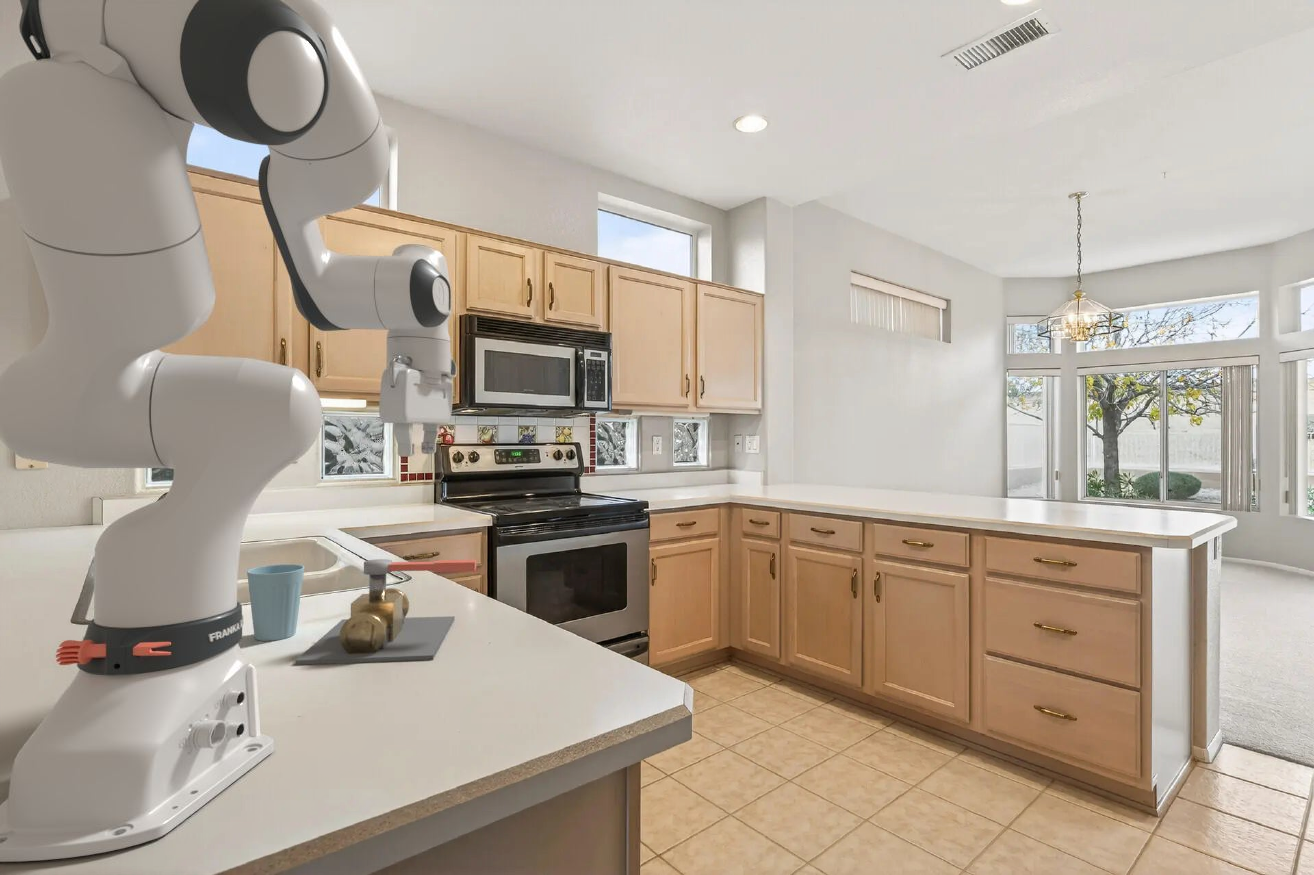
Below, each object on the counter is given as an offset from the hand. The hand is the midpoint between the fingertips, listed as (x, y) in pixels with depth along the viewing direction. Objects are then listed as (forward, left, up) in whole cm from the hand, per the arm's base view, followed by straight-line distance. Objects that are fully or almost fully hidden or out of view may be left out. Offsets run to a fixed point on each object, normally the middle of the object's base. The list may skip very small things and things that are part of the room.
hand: (417, 455), depth 96 cm
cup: (+9, +23, -29) cm, 38 cm away
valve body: (+5, +7, -29) cm, 30 cm away
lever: (+5, 0, -18) cm, 19 cm away
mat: (+5, +6, -29) cm, 30 cm away
